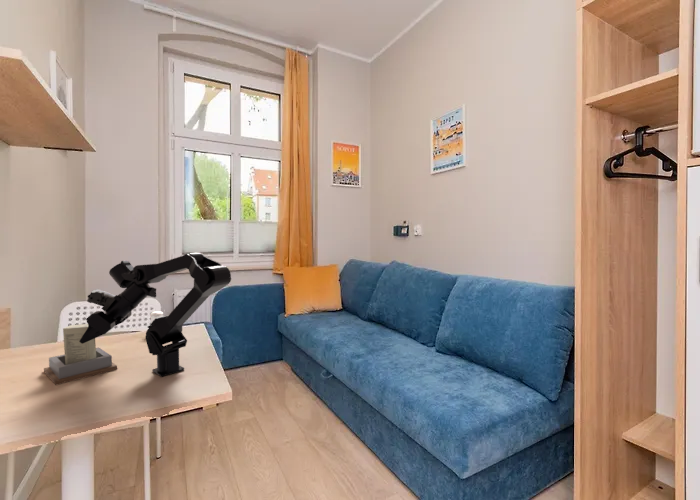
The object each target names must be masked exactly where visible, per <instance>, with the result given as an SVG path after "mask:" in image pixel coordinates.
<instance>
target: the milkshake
mask: <svg viewBox="0 0 700 500" xmlns="http://www.w3.org/2000/svg"><path fill="white" fill-rule="evenodd" d="M165 311H166V309H164V310H163V311H160V310H158V311H157V310H155V311H152V312H151V313H150V315H149V317H150V321H151V322H150V323H151V324H152V322H153V320H154V319H156V318H159V317H163V316H164V314H165Z"/></svg>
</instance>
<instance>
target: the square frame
mask: <svg viewBox="0 0 700 500" xmlns="http://www.w3.org/2000/svg"><path fill="white" fill-rule="evenodd" d="M112 359H113V357H112V355H111V354H110V353H108V352H106V351H105V350H103V349H102V348H101V347H96V358H93V359H89V360H84V361H80V362H76V363H71V364H67V365H65V353H64V354H60V355H55V356H52V357H51V356H50V357H48V367H49V368H50V369H51V370H52V372H53V373H54V374H55V375H56V376H57V377H58V378H59V379H61V378H65V377H69V376H73V375H77V374H81V373H86V372H90V371H94V370H98V369H102V368H106V367H110V366H112V363H113V362H112V361H113V360H112Z"/></svg>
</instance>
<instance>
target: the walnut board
mask: <svg viewBox="0 0 700 500" xmlns="http://www.w3.org/2000/svg"><path fill="white" fill-rule="evenodd" d="M115 370H118V364H115V363H114V362H112V366H110V367H106V368H102V369H98V370H94V371H90V372H86V373H81V374H77V375H73V376H69V377H65V378H61V379H59V378H58V377H57V376H56V375H55V374H54V373H53V372H52V370H51V369H50V368H49V366H47V367H43V372H44V373H45V375H47V377H48V378H49V379H50V380H51V381H52V383H53V384H54V385H55V386H57V385H60V384H65V383H68V382H72V381H76V380H81V379H85V378H88V377H92V376H97V375H99V374H103V373H107V372H111V371H115Z"/></svg>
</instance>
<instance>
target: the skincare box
mask: <svg viewBox="0 0 700 500" xmlns="http://www.w3.org/2000/svg"><path fill="white" fill-rule="evenodd" d="M87 328H88V323H80V324H70V325H68V326H66V327H64V328H62V333H63V334H62V335H63V349H64V351H63V352H64V354H65V365H67V364H71V363H76V362H80V361H84V360H89V359H93V358H96V348H97V347H96V338H94V339H92V340H90V341H88V342H85V343H83V344H82V343H80V342H79V341H80V339H81V338H82V336H83V335H84V333H85V332H86V330H87Z"/></svg>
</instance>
